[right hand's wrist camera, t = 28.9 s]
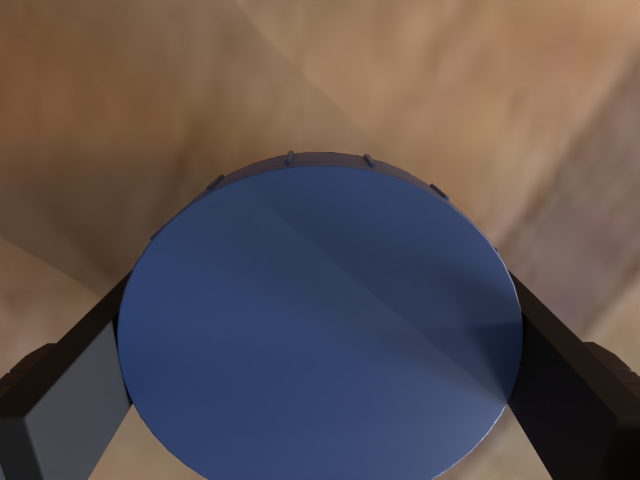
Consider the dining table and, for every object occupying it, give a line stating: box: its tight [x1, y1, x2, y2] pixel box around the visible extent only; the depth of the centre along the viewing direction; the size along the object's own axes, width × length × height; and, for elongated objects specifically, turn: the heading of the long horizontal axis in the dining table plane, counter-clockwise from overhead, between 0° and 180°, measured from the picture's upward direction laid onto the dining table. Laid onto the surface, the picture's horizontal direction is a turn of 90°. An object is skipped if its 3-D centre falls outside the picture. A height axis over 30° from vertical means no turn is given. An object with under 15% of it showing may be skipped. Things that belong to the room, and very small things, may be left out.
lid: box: [117, 151, 523, 480], centre depth 11 cm, size 10×10×2 cm
